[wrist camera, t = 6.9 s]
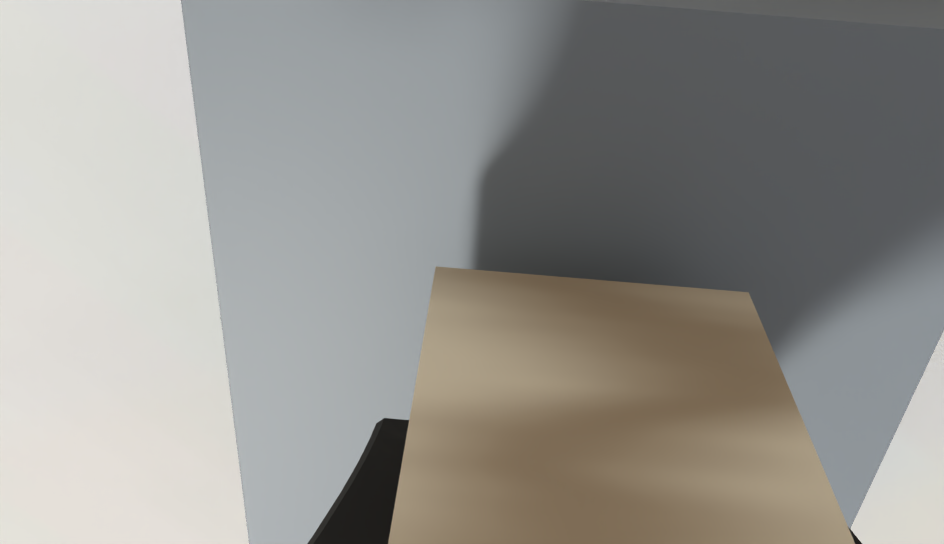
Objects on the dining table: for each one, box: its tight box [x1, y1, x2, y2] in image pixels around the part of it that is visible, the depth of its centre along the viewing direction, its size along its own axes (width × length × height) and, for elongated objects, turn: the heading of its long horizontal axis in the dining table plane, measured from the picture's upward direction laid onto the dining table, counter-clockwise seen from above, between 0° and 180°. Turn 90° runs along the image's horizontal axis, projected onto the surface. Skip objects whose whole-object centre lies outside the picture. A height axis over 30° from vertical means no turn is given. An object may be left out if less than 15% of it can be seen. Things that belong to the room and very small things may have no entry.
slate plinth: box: [181, 0, 944, 544], centre depth 15 cm, size 12×12×2 cm
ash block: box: [388, 267, 855, 544], centre depth 11 cm, size 4×4×5 cm
